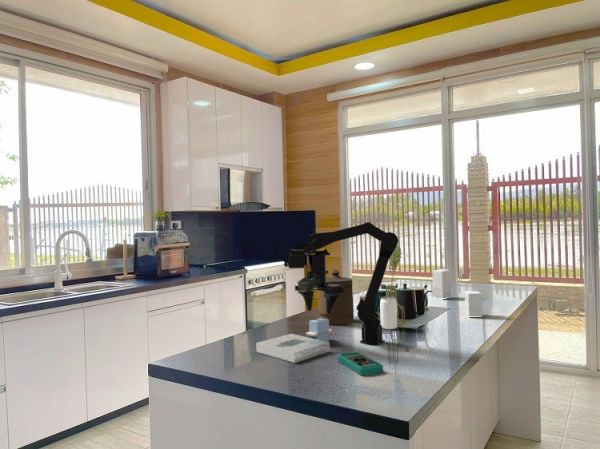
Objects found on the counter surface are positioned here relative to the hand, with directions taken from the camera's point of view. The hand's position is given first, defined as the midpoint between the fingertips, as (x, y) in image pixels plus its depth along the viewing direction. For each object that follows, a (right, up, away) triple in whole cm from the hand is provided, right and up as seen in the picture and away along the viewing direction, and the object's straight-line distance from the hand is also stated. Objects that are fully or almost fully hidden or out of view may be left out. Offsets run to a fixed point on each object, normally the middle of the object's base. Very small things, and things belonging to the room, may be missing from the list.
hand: (319, 312), depth 159 cm
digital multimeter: (+11, -11, -29) cm, 33 cm away
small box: (+69, -9, +36) cm, 78 cm away
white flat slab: (-9, -11, -12) cm, 18 cm away
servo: (0, -10, 0) cm, 10 cm away
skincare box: (+70, -9, +82) cm, 108 cm away
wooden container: (+9, -11, +33) cm, 35 cm away
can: (+29, -10, +18) cm, 35 cm away
